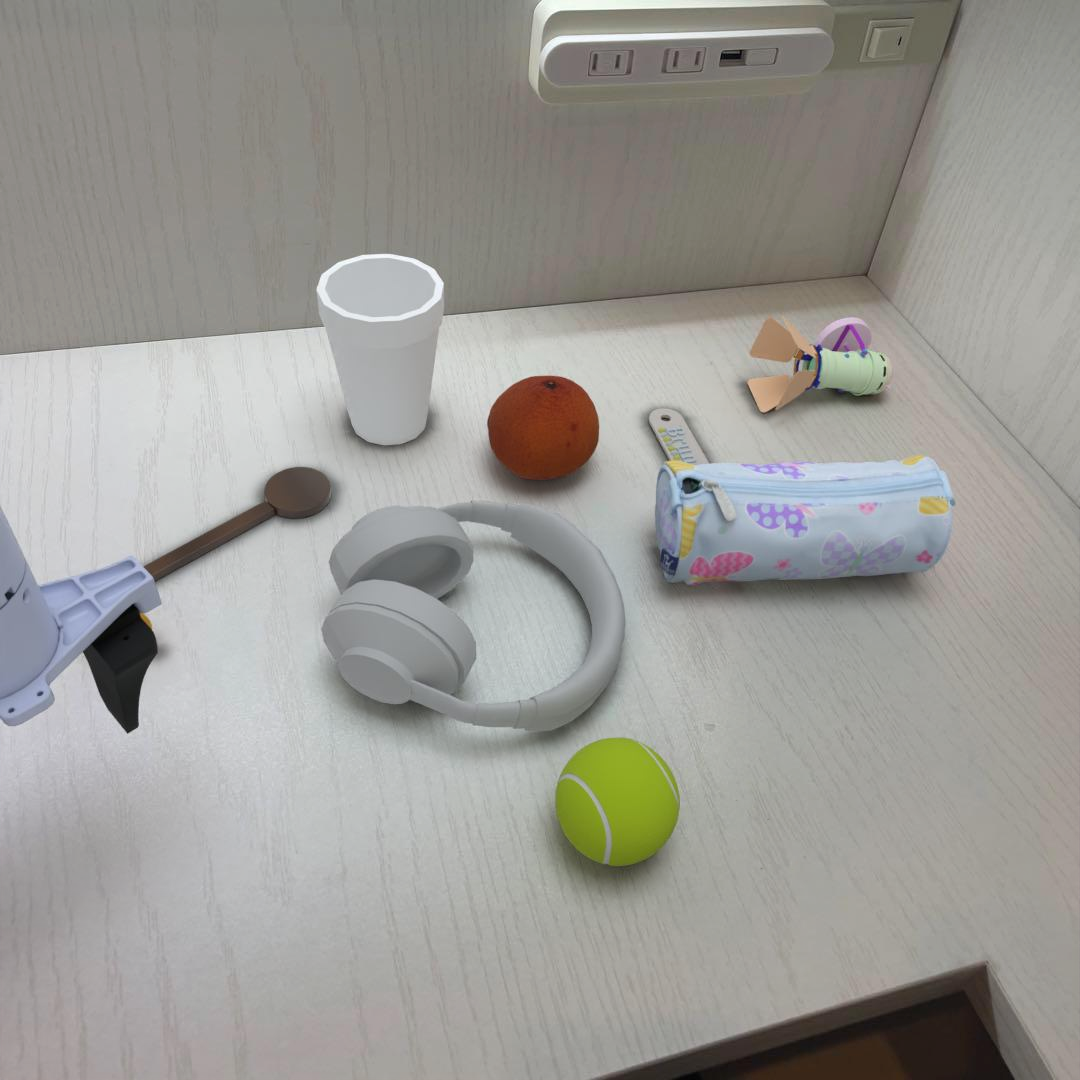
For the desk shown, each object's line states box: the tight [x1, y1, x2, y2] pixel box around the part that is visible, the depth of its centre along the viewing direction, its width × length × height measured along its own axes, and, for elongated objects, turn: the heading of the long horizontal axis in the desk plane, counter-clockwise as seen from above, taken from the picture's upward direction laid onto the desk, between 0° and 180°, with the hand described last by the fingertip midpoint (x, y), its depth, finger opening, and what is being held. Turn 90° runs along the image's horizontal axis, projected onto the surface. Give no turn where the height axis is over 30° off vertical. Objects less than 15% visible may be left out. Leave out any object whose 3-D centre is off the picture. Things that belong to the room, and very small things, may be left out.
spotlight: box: [747, 315, 894, 413], centre depth 87 cm, size 12×8×8 cm
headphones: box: [320, 500, 626, 733], centre depth 65 cm, size 18×8×20 cm
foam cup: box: [315, 253, 445, 446], centre depth 78 cm, size 10×9×13 cm
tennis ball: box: [554, 737, 681, 867], centre depth 55 cm, size 7×7×7 cm
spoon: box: [142, 466, 332, 582], centre depth 71 cm, size 20×5×1 cm, turn 135°
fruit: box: [486, 375, 600, 481], centre depth 77 cm, size 9×9×8 cm
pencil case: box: [654, 454, 957, 586], centre depth 70 cm, size 21×9×10 cm, turn 94°
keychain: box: [648, 407, 710, 465], centre depth 82 cm, size 10×1×3 cm
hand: (51, 762), depth 48 cm, fingers open, 7 cm apart
